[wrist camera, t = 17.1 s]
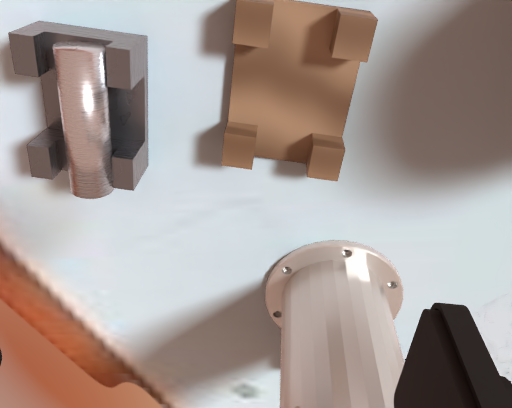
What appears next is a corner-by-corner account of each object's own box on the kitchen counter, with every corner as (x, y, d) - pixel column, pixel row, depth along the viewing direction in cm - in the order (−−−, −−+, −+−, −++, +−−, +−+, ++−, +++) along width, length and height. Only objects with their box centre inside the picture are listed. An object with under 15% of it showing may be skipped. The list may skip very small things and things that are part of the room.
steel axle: (113, 176, 34) (115, 197, 32) (70, 178, 33) (70, 200, 31) (103, 41, 29) (106, 54, 27) (53, 39, 28) (51, 52, 26)
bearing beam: (333, 162, 35) (337, 181, 32) (226, 147, 35) (221, 165, 32) (370, 11, 29) (377, 19, 27) (241, -8, 29) (236, -1, 26)
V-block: (148, 165, 36) (133, 190, 33) (56, 152, 36) (32, 176, 33) (147, 36, 31) (129, 49, 27) (39, 20, 31) (8, 32, 27)
